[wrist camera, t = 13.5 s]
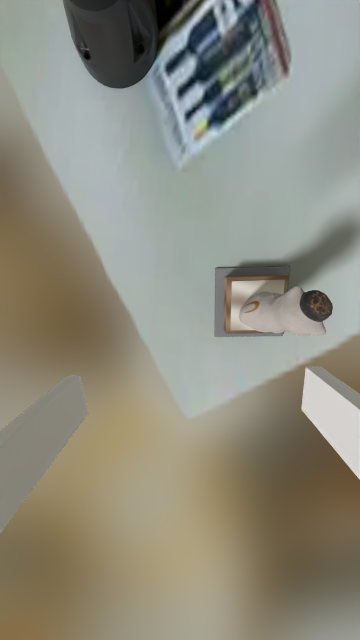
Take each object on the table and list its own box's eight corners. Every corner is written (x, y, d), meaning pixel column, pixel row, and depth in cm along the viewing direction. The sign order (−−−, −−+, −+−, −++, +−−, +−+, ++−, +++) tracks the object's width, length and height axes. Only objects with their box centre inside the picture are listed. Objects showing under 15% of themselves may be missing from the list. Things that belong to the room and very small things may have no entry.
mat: (215, 268, 41) (215, 268, 41) (288, 266, 40) (289, 265, 40) (214, 336, 45) (214, 336, 44) (281, 335, 44) (282, 335, 43)
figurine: (286, 319, 38) (346, 346, 24) (238, 330, 39) (267, 362, 25) (280, 278, 36) (341, 279, 22) (230, 291, 37) (256, 300, 23)
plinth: (224, 277, 41) (228, 277, 37) (279, 275, 40) (289, 275, 36) (223, 328, 44) (226, 334, 40) (274, 327, 43) (283, 333, 39)
